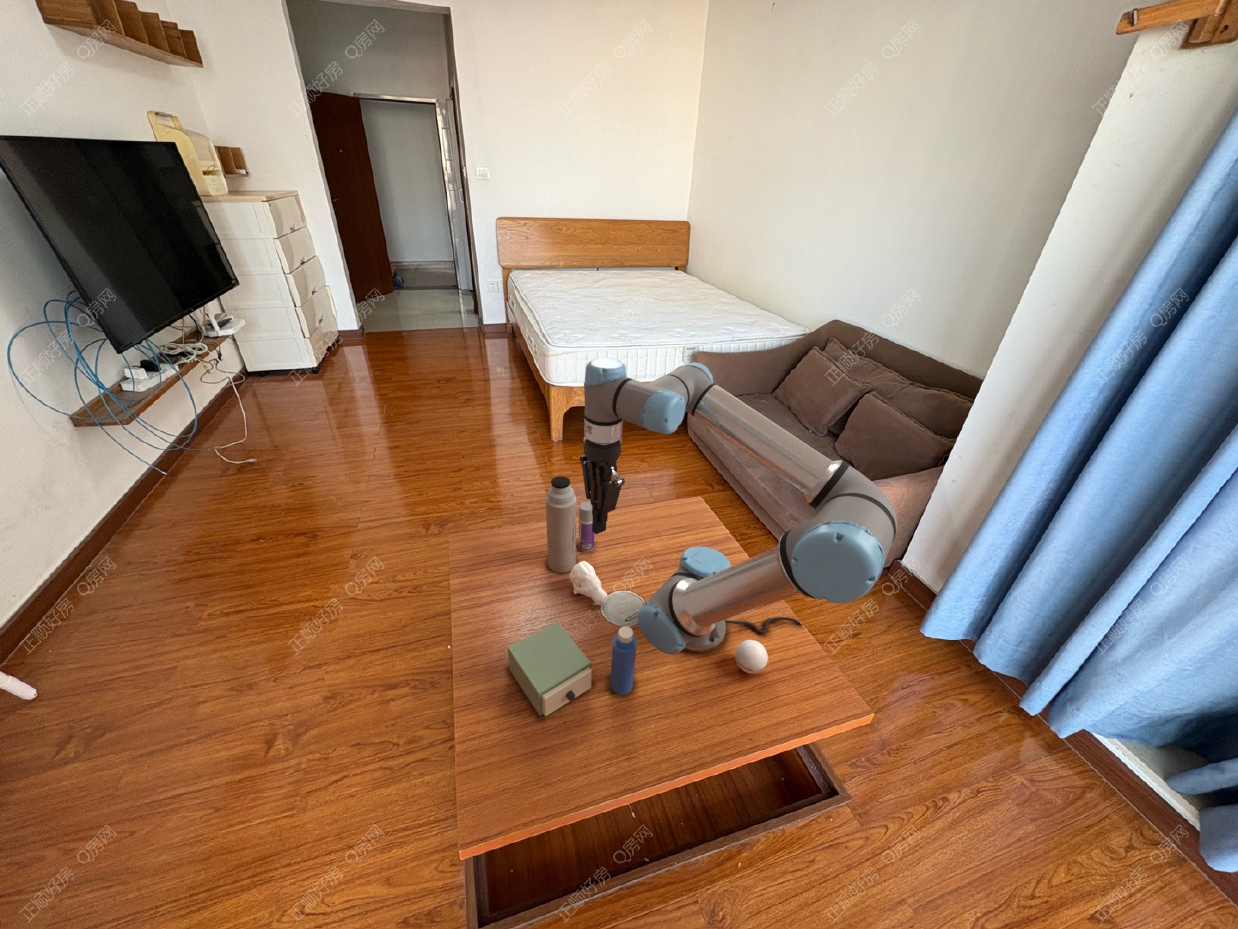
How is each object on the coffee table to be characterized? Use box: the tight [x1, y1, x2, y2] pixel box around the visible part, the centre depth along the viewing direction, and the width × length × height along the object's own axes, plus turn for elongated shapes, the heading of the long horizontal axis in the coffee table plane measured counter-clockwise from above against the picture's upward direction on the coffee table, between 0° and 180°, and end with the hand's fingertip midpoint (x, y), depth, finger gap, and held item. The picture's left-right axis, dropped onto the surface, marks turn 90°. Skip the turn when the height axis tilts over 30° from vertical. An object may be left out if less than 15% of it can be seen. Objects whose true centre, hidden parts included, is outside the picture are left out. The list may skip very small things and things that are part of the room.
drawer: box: [542, 667, 593, 717], centre depth 108 cm, size 14×11×6 cm
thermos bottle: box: [545, 475, 577, 573], centre depth 136 cm, size 8×8×28 cm
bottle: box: [609, 626, 638, 696], centre depth 107 cm, size 5×5×17 cm
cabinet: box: [507, 621, 592, 717], centre depth 110 cm, size 14×13×8 cm
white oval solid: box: [734, 639, 773, 675], centre depth 114 cm, size 10×7×7 cm
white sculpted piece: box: [568, 560, 609, 607], centre depth 131 cm, size 6×8×12 cm
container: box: [577, 500, 596, 553], centre depth 146 cm, size 5×5×15 cm
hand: (599, 530), depth 112 cm, fingers closed
